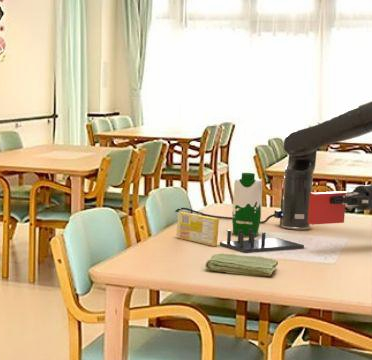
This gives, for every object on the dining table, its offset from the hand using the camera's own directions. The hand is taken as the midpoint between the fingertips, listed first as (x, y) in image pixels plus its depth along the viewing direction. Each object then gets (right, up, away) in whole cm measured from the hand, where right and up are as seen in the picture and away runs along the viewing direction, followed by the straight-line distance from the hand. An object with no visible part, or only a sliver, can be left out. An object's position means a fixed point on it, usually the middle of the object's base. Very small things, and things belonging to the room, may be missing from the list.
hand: (327, 199), depth 271 cm
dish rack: (-18, -14, +6) cm, 24 cm away
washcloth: (-31, -18, -28) cm, 46 cm away
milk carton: (-18, -12, +27) cm, 35 cm away
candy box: (-37, -13, +12) cm, 41 cm away
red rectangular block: (0, -7, +1) cm, 7 cm away
